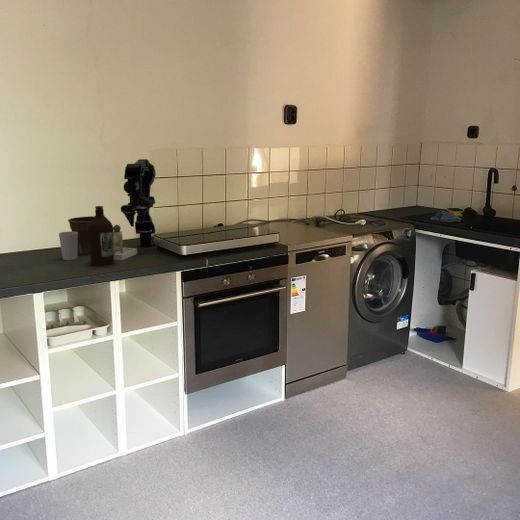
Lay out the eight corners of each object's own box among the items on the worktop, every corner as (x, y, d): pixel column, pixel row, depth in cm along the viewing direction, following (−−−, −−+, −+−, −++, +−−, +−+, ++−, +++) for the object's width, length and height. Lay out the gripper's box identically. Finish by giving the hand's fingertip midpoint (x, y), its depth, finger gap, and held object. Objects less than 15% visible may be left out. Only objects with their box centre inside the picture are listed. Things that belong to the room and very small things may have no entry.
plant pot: (64, 256, 266) (61, 221, 262) (79, 249, 281) (76, 215, 278) (98, 257, 264) (96, 221, 260) (111, 249, 280) (109, 216, 276)
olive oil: (84, 265, 248) (80, 206, 242) (104, 260, 256) (100, 204, 251) (100, 268, 242) (97, 208, 236) (120, 264, 250) (117, 206, 245)
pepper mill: (119, 254, 266) (117, 223, 263) (124, 255, 263) (123, 224, 260) (110, 255, 263) (109, 224, 260) (116, 257, 260) (115, 225, 257)
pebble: (117, 257, 261) (116, 250, 260) (123, 257, 260) (122, 251, 259) (113, 258, 258) (113, 252, 257) (119, 259, 257) (119, 252, 256)
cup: (82, 257, 262) (80, 231, 259) (75, 261, 254) (73, 234, 252) (65, 257, 263) (63, 231, 260) (57, 261, 255) (55, 234, 252)
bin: (113, 253, 271) (113, 247, 271) (137, 254, 268) (137, 248, 268) (97, 259, 258) (97, 253, 258) (122, 261, 255) (122, 254, 254)
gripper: (142, 194, 256) (143, 229, 260) (160, 189, 274) (161, 222, 277) (119, 193, 259) (121, 228, 263) (138, 189, 277) (140, 221, 280)
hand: (137, 225), depth 271 cm, fingers open, 9 cm apart
